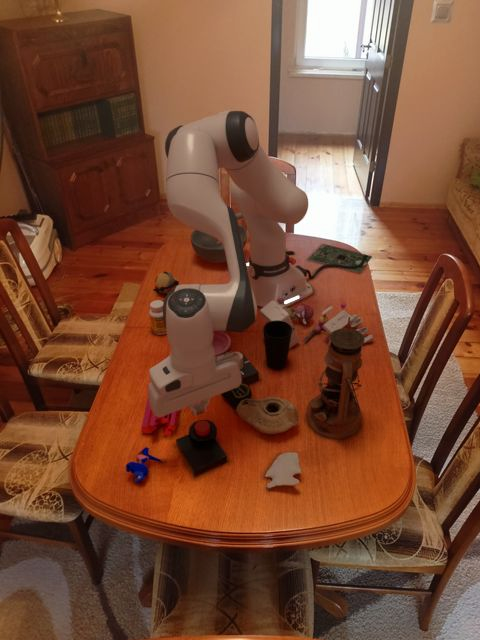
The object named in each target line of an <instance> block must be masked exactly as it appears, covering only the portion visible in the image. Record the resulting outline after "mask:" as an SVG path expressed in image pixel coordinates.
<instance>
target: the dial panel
mask: <svg viewBox="0 0 480 640" xmlns="http://www.w3.org/2000/svg"><path fill="white" fill-rule="evenodd" d="M239 352H240V353H242V355H243V368H242V369H240V372H241V378H242V383H244V384H246V385H248V386H249V385H250V384H253V383H255V382H258V381H260V377H259V376H260V372H259V370H258V369H256V367H255V366H254V365H253V364H252V362H251V361H250V360H249V359H248V358H247V357H246V355H245V354H244V353H243V352H242V351H241V350H240V351H239Z"/></svg>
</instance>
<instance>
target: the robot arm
mask: <svg viewBox="0 0 480 640" xmlns="http://www.w3.org/2000/svg"><path fill="white" fill-rule="evenodd" d="M164 150H165V152H164V153H165V156H166V158H167V161H166V172H165V173H166V174H165V193H166V202H167V207H168V210H169V211H170V213H171V215H172V216H173V217H174V218H175V220H177V221H178V222H180V223H181V224H183V225H184V226H186V227H188V228H189V229H192V230H197V231H200V232H203V233H206V234H208V235H210V236H212V237H214V238H216V239H217V240H219V241H220V242H221V243H222V245H223V246H224V249H225V254H226V259H227V262H226V265H227V269H228V275H229V281H228V282H227V283H211V284H210V283H209V284H207V283H203V284H201V283H182V284H179V285H177V286H175V287H174V288H173V289H172V290H171V291H170V292H169V293H168V294H166V295H165V297H164V300H163V302H164V303H163V317H164V324H165V328H166V330H167V333H166V338H167V342H168V344H169V347H170V352H169V355H168V356H167V357H166V358H164V359H162V360H161V361H160V362H158V363H157V364H155V365H154V366H152V367H151V368H150V369H148V374H149V377H150V382H149V383H148V387H147V395H148V396H147V399H148V398H149V405H150V408H151V410H152V412H153V414H154V415H155V416H157V417H159V418H160V417H163V416H165V415H168V414H170V413H173V412H176V411H178V410H179V411H180V410H183V409H186V408H188V409H189V410H190V412H191V413H192V415H193V416H194V417H197V416H199V415H202V414H205V413H207V412H208V409H207V407H208V405H210V402H211V398H214V397H217V396H219V395H221V394H222V393H224V392H227V391H229V390H232V389H234V388H237V387H239V386H240V384H241V383H242V378H241V372H240V368H239V366H238V365H239V363H240V356H239V354H238V353H236V352H237V351H234V352H233V351H227V352H226V353H225V354H223V355H219V356H216V357H215V350H214V347H213V345H212V341H213V331H223V332H226V333H227V332H228V333H240V334H241V333H243V332H245V331H247V330H249V328H250V327H252V326H253V324H254V323H255V322H256V319H257V314H258V307H260V308H263V307H264V306H265V305H267V304H268V303H269V302H270V301H275V302H276V303H277V304H278V305H279V306H280V307H281V308H289V307H290V306H292V305H294V304H296V303H298V302H300V301H301V300H304V299H306V298H307V297H309V296H311V295H313V293H314V291H313V287H312V286H311V284H310V283H309V282H308V281H307V280H306V278H307V277H308V278H309V279H310V280H312V279H314V278H315V277H316V276H317V275H318V274H319V273H320V272H321V271H322V270H323V269H326V268H329V267H330V268H337V267H340V268H339V269H341V268H347V269H354V268H359V267H360V266H362V264H363V263H364V261H365V257H367V255H368V254H365V253H364V254H365V255H363V258H362V261H361V263H360V264H359V265H356V266H344V265H338V264H323V265H321V266H319V268H317V270H316V271H315V272H314V273H313V274H312V273H311V270H310V269H306V268H303V266H300V265H299V264H298V265H297V259H296V258H294V257H293V256H290V254H286V251H287V235H286V232H285V230H284V228H283V226H281V225H280V224H285V225H297V224H299V223H300V222H301V221H302V220H304V218H305V216H306V215H307V213H308V209H309V197H308V194H307V193H306V192H305V191H304V190H303V189H301V188H300V187H298V186H297V185H296V184H294V183H293V182H292V181H291V180H290V179H289V178H288V177H287V176H286V175H285V174H284V173H283V172H282V171H281V170H280V169H279V168H278V167H277V166H276V165H275V164H274V163H273V161H272V160H271V159H270V157H269V156H268V154H267V153H266V151H265V149H264V148H263V146H262V144H261V143H260V136H259V131H258V127H257V125H256V121H255V120H254V118H253V117H252V116H251V115H250V114H248V113H247V112H246V111H243V110H230V109H229V110H228V109H227V110H222V111H219V112H217V113H216V114H213V115H208V116H205V117H204V116H203V117H202V118H200V119H197V120H193V121H192V122H189V123H187V124H185V125H179V126H176V127H174V128H173V129H172V130H170V131H169V132H168V133H167V136H166V139H165V142H164ZM220 169H224V171H225V172H226V173H227V175H228V176H229V177H230V179H231V180H232V181H231V183H230V187H229V191H230V192H229V193H230V198H231V200H232V202H233V203H234V205H235V206H236V207H237V208H238V210H239V213H240V212H241V214H242V216H243V218H242V219H243V221H244V223H245V226H246V230H247V234H248V237H249V253H250V254H249V257H248V262H247V260H246V259H247V258H246V254H245V247H244V248H243V244H242V238H241V234H240V230H239V226H238V225H239V222H238V220H237V218H236V215H235V214H236V212H235V210H234V208H233V207H231V206H229V205H227V204H226V202H225V201H224V199H223V197H222V194H221V191H220V174H219V173H220V172H219V170H220ZM279 298H283V299H284V303H283V304H279V303H278V299H279Z"/></svg>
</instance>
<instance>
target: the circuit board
mask: <svg viewBox="0 0 480 640" xmlns="http://www.w3.org/2000/svg"><path fill="white" fill-rule="evenodd" d="M363 255H365V253H361V252H357V251H352V250H348V249H345V248H341V247H337V246H333V245H328V244H324V243H322V244H321V246H319V248H318V249H316V250H315V252H313V253H312V255H311V256H310V257H309V258H308V259H307V260H308V261H311V262H314V263H318V264H323V265H326V264H338V265H344V266H356V265H359V264H360V263H361V261H362V258H363ZM366 255H367V257H365V261H364V263H363V264H362V266H360V267H359V268H354V269H347V268H340V267H336V268H338V269H341V270H345V271H348V272H352V273H356V274H361V272H362V271H363V270H364V268H365V267H366V266H367V265H368V263H369V262H370V261H371V259H373V256H372V255H368V254H366Z"/></svg>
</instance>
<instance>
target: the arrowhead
mask: <svg viewBox="0 0 480 640" xmlns="http://www.w3.org/2000/svg"><path fill="white" fill-rule="evenodd" d="M299 459H300V458H299V454H298V453H297V452H295V451H293V452H290V451H286V452H284V453H281V454H279V455H278V456H277V457H276V459H275V460H273V463H272V464H271V466H270V467H269V469H268V470H267V471H266V474H264V475H265V476H264V477H265V478H270V479H271V481H270V482H268V483H267V484H266V488H267V489H272V488H274V487H280V486H291V487H293V486H297V485H299V484H300V480H299V479H298V478H295V477H294V476H296V475H299V474H301V473H302V470H301V469H302V468H301V466H300V460H299Z"/></svg>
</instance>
